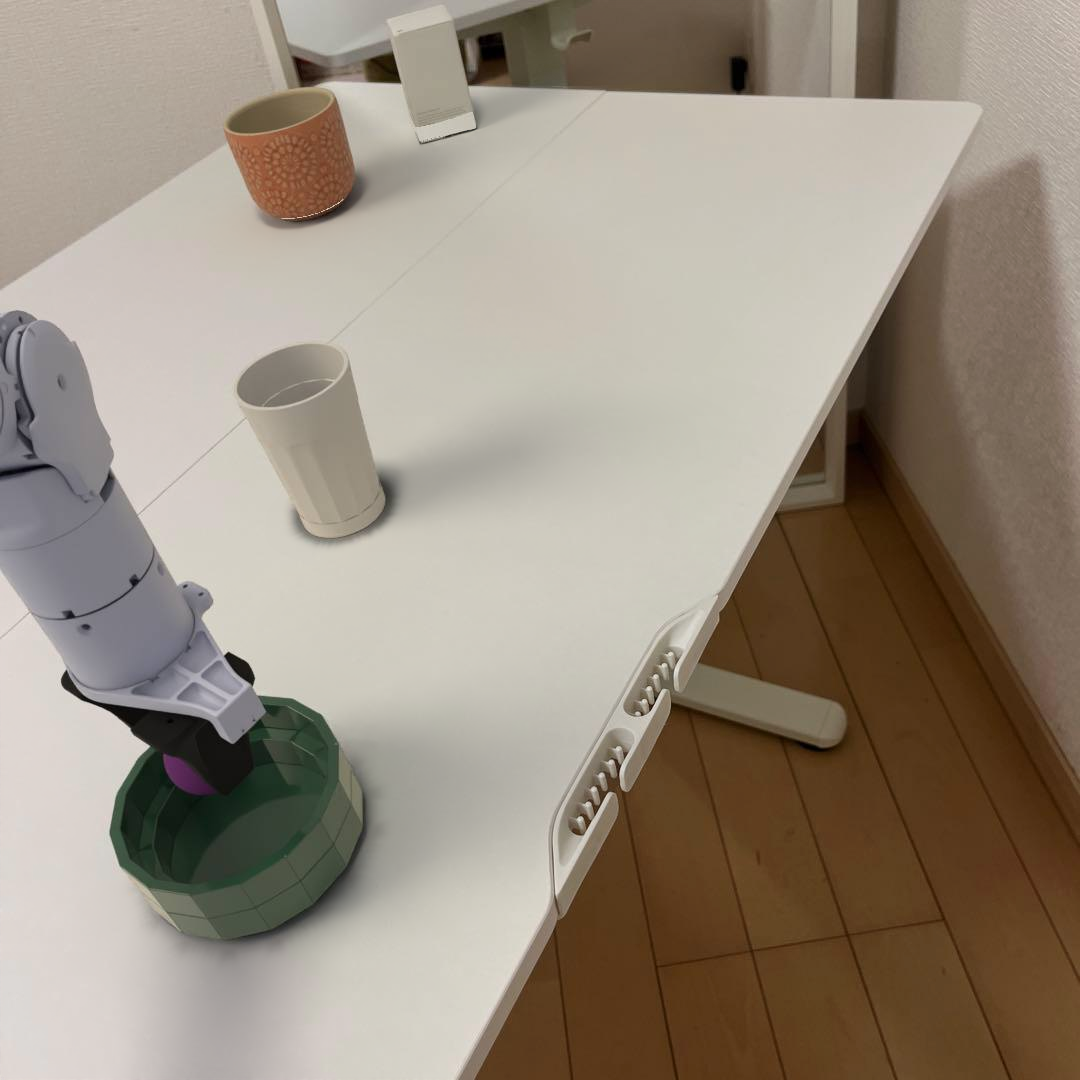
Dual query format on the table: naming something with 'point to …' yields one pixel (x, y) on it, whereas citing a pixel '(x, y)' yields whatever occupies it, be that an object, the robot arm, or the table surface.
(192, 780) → the ball
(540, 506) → the table surface
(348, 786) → the bowl
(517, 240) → the table surface
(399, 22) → the white packaging box
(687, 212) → the table surface
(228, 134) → the planter
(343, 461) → the cup
